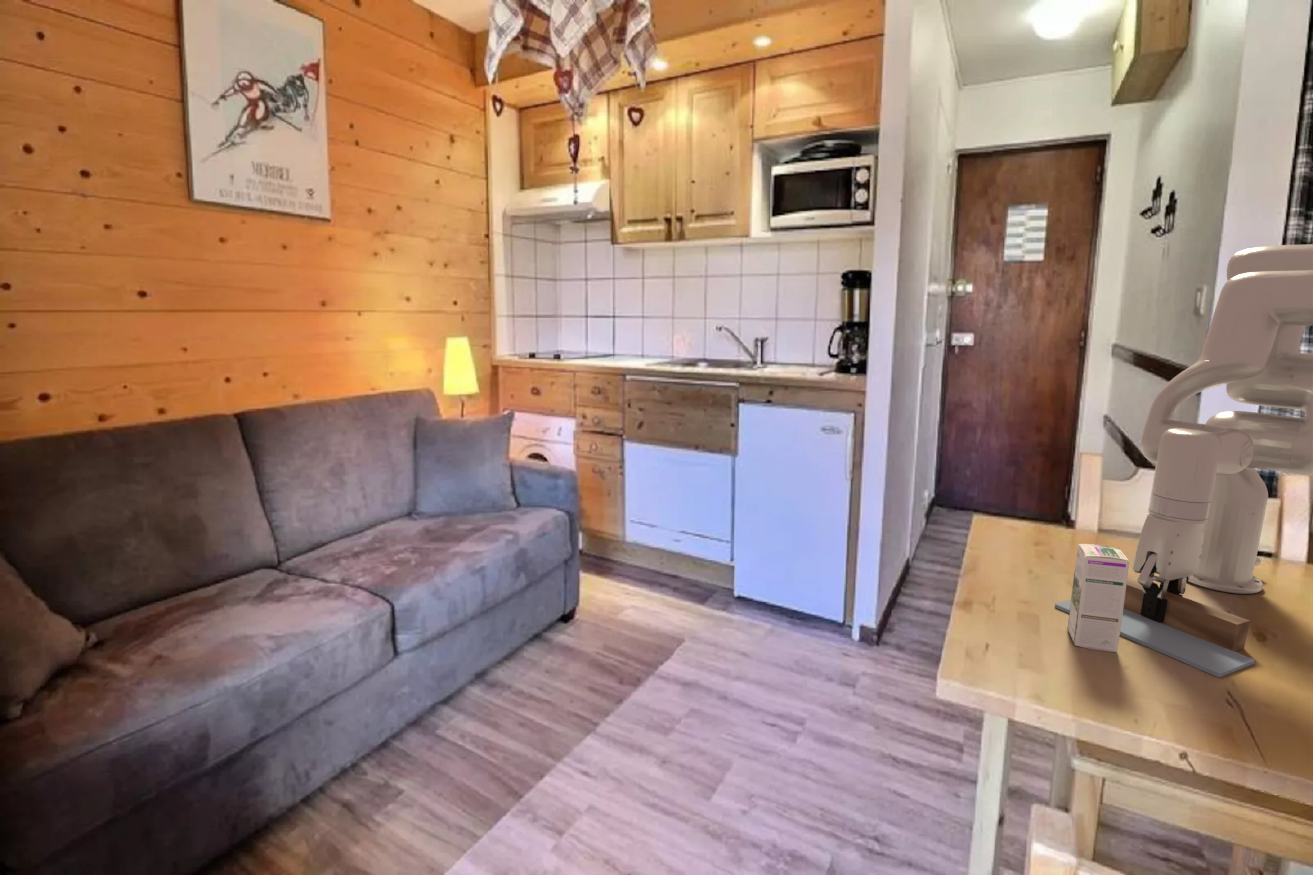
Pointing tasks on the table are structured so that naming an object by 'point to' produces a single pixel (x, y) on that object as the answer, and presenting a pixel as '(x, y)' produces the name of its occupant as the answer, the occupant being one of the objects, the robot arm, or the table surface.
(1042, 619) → the table surface
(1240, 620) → the wooden beam
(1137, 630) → the rubber mat
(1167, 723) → the table surface
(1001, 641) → the table surface
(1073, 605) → the syrup box
